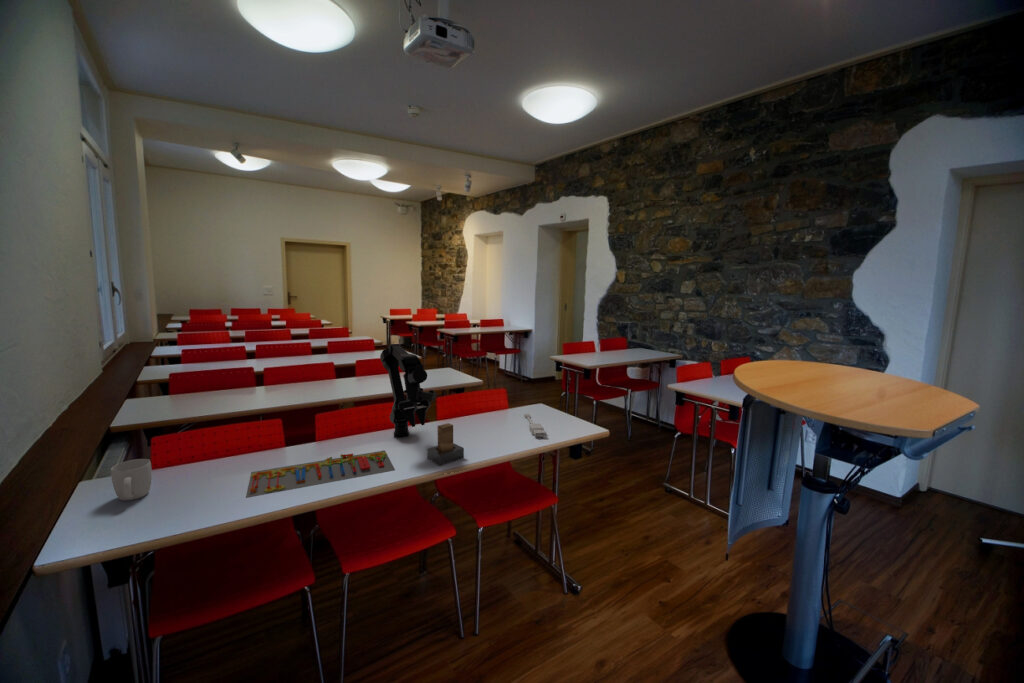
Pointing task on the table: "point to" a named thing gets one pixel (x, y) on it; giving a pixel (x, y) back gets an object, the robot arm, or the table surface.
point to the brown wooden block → (445, 437)
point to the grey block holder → (445, 455)
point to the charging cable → (535, 427)
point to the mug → (132, 479)
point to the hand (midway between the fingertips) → (418, 426)
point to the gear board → (318, 472)
